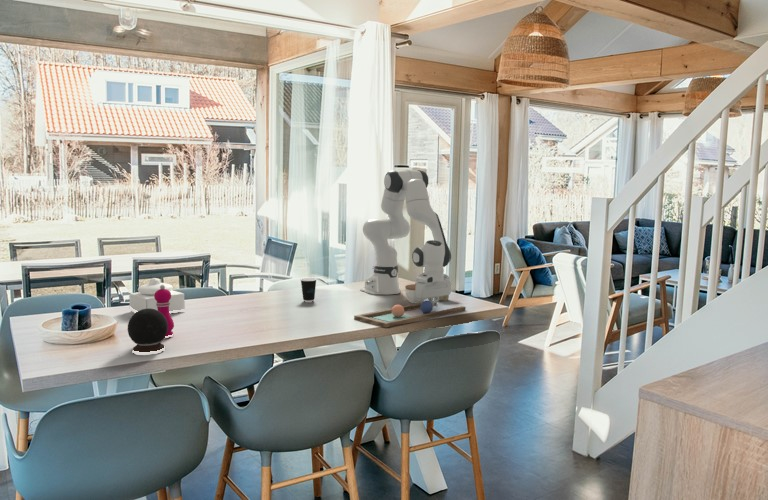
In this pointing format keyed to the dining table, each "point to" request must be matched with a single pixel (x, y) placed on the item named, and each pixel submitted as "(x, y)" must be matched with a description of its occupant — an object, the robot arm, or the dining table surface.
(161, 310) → the pepper mill
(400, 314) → the coral ball
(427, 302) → the blue ball
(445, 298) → the flower pot
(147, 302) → the butter dish
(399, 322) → the guard rails
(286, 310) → the dining table surface
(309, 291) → the dixie cup
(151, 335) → the black ball on stand
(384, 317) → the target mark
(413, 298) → the lidded jar
